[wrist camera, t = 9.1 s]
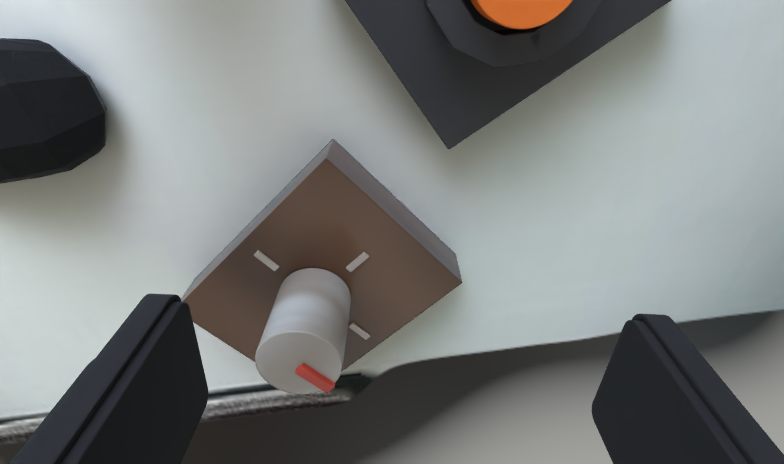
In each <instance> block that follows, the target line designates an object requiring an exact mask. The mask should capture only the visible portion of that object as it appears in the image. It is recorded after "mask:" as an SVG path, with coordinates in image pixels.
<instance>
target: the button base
mask: <svg viewBox="0 0 784 464" xmlns="http://www.w3.org/2000/svg"><path fill="white" fill-rule="evenodd" d="M345 1H346V3H347V4H348V5H349V7H350V8H351V10H352V11H353V13H354V14H355V16H356V17H357V18H358V20H359V21H360V23H361V24H362V26H363V27H364V29H365V30H366V31H367V33H368V34H369V36H370V37H371V39H372V40H373V42H374V43H375V44H376V46H377V47H378V49H379V50H380V52H381V53H382V55H383V56H384V57H385V59H386V60H387V62H388V63H389V65H390V66H391V68H392V69H393V70H394V72H395V73H396V75H397V76H398V78H399V79H400V81H401V82H402V83H403V85H404V86H405V88H406V89H407V91H408V92H409V94H410V95H411V96H412V98H413V99H414V101H415V102H416V104H417V105H418V107H419V108H420V109H421V111H422V112H423V114H424V115H425V117H426V118H427V120H428V121H429V122H430V124H431V125H432V127H433V128H434V130H435V131H436V133H437V134H438V135H439V137H440V138H441V140H442V141H443V143H444V144H445V146H446V147H447V148H448V149H451V148H452V147H454V146H455V145H457V144H458V143H460V142H461V141H463V140H464V139H466V138H467V137H469V136H470V135H471V134H473V133H474V132H476V131H477V130H479V129H480V128H482V127H483V126H485V125H486V124H488V123H489V122H491V121H492V120H494V119H495V118H497V117H498V116H500V115H501V114H503V113H504V112H506V111H507V110H509V109H510V108H512V107H513V106H515V105H516V104H518V103H519V102H521V101H522V100H524V99H525V98H527V97H528V96H530V95H531V94H532V93H534V92H535V91H537V90H538V89H540V88H541V87H543V86H544V85H546V84H547V83H549V82H550V81H552V80H553V79H555V78H556V77H558V76H559V75H561V74H562V73H564V72H565V71H567V70H568V69H570V68H571V67H573V66H574V65H576V64H577V63H579V62H580V61H582V60H583V59H585V58H586V57H588V56H589V55H591V54H592V53H594V52H595V51H596V50H598V49H599V48H601V47H602V46H604V45H605V44H607V43H608V42H610V41H611V40H613V39H614V38H616V37H617V36H619V35H620V34H622V33H623V32H625V31H626V30H628V29H629V28H631V27H632V26H634V25H635V24H637V23H638V22H640V21H641V20H643V19H644V18H646V17H647V16H649V15H650V14H652V13H653V12H655V11H656V10H657V9H659V8H660V7H662V6H663V5H665V4H666V3H668V2H669V1H671V0H573V1H572V2H571V3H570V5H569V6H568V7H567V8H566V9H565V10H564V11H563V12H562V13H561V14H559V15H558V16H557V17H556V18H554V19H553V20H551V21H549V22H548V23H545V24H543V25H541V26H538V27H535V28H530V29H512V28H508V27H504V26H502V25H499V24H496V23H494V22H492V21H490V20H488V19H486V18H485V17H483V16H482V15H481V14H480V13H479V12H478V11H477V10H476V9H475V7H474V6H473V4H472V3H471V1H470V0H345Z"/></svg>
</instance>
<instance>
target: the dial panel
mask: <svg viewBox="0 0 784 464" xmlns="http://www.w3.org/2000/svg"><path fill="white" fill-rule="evenodd" d="M306 268H319V269H324V270H327V271H330V272H332V273H334V274H335V275H337V276H338V277H340V278H341V279H342V280H343V281H344V282H345V284H346V285H347V287H348V289H349V291H350V294H351V306H350V314H349V321H348V329H347V337H346V345H345V352H344V360H343V368H342V371H343V370H344V369H346V368H347V367H348V366H350V365H351V364H352V363H354V362H355V361H357V360H358V359H359V358H361V357H362V356H363V355H365V354H366V353H367V352H369V351H370V350H372V349H373V348H374V347H376V346H377V345H378V344H380V343H381V342H382V341H384V340H385V339H386V338H388V337H389V336H391V335H392V334H393V333H395V332H396V331H397V330H399V329H400V328H401V327H403V326H404V325H406V324H407V323H408V322H410V321H411V320H412V319H414V318H415V317H416V316H418V315H419V314H420V313H422V312H423V311H425V310H426V309H427V308H429V307H430V306H431V305H433V304H434V303H435V302H437V301H438V300H440V299H441V298H442V297H444V296H445V295H446V294H448V293H449V292H450V291H452V290H453V289H454V288H456V287H457V286H459V285H460V284H461V283H462V280H461V275H460V271H459V267H458V263H457V258H456V254H455V253H454V252H453V251H452V250H451V249H450V248H449V247H448V246H447V245H445V244H444V243H443V242H442V241H441V240H440V239H439V238H438V237H437V236H436V235H435V234H434V233H433V232H432V231H431V230H430V229H429V228H427V227H426V226H425V225H424V224H423V223H422V222H421V221H420V220H419V219H418V218H417V217H416V216H415V215H414V214H413V213H412V212H410V211H409V210H408V209H407V208H406V207H405V206H404V205H403V204H402V203H401V202H400V201H399V200H398V199H397V198H396V197H395V196H394V195H392V194H391V193H390V192H389V191H388V190H387V189H386V188H385V187H384V186H383V185H382V184H381V183H380V182H379V181H378V180H377V179H375V178H374V177H373V176H372V175H371V174H370V173H369V172H368V171H367V170H366V169H365V168H364V167H363V166H362V165H361V164H360V163H358V162H357V161H356V160H355V159H354V158H353V157H352V156H351V155H350V154H349V153H348V152H347V151H346V150H345V149H344V148H343V147H342V146H340V145H339V144H338V143H337V142H336V141H335V140H334V139H333V140H332V141H331V142H330V143H329V144H328V145H327V146H326V147H325V148H324V149H323V150H322V151H321V152H320V153H319V154H318V155H317V156H316V157H315V158H314V159H313V160H312V161H311V162H310V163H309V164H308V165H307V166H306V167H305V168H304V169H303V170H302V171H301V172H300V173H299V174H298V175H297V176H296V177H295V178H294V179H293V180H292V181H291V182H290V183H289V184H288V185H287V186H286V187H285V188H284V189H283V190H282V191H281V192H280V193H279V194H278V195H277V196H276V197H275V198H274V199H273V200H272V201H271V202H270V203H269V204H268V205H267V206H266V207H265V208H264V209H263V210H262V211H261V212H260V213H259V214H258V215H257V216H256V217H255V218H254V219H253V220H252V221H251V222H250V223H249V224H248V225H247V226H246V227H245V228H244V230H243V231H242V232H241V233H240V234H239V235H238V236H237V237H236V238H235V239H234V240H233V241H232V242H231V243H230V244H229V245H228V246H227V247H226V248H225V249H224V250H223V251H222V252H221V253H220V254H219V255H218V256H217V257H216V258H215V259H214V260H213V261H212V262H211V263H210V264H209V265H208V266H207V267H206V268H205V269H204V270H203V271H202V272H201V273H200V274H199V275H198V276H197V277H196V278H195V279H194V280H193V282H192V283H191V285H190V286H189V288H188V289H187V291H186V292H185V294H184V295H183V297H182V298H181V301H182V302H186V303H188V305H189V307H190V312H191V316H192V321H193V322H194V323H196V324H197V325H199V326H200V327H202V328H203V329H205V330H206V331H208V332H209V333H211V334H212V335H214V336H216V337H217V338H219V339H220V340H222V341H223V342H225V343H226V344H228V345H229V346H231V347H233V348H234V349H236V350H237V351H239V352H240V353H242V354H243V355H245V356H246V357H248V358H250V359H251V360H253V361H254V362H255V355H256V351H257V348H258V346H259V343H260V340H261V337H262V335H263V332H264V329H265V327H266V324H267V321H268V319H269V316H270V313H271V310H272V308H273V305H274V302H275V300H276V297H277V294H278V291H279V289H280V286H281V284H282V282H283V281H284V280H285V278H286V277H288V276H289V275H290V274H292V273H293V272H295V271H298V270H301V269H306ZM305 395H307V396H309V395H310V394H305Z"/></svg>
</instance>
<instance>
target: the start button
mask: <svg viewBox="0 0 784 464" xmlns="http://www.w3.org/2000/svg"><path fill="white" fill-rule="evenodd" d="M470 1H471V3H472V4H473V6H474V7H475V9H476V10H477V11H478V12H479V13H480V14H481V15H482V16H483V17H485V18H486V19H488V20H490V21H492V22H494V23H496V24H499V25H502V26H504V27H508V28H512V29H530V28H535V27H538V26H541V25H543V24H545V23H548V22H549V21H551V20H553V19H554V18H556V17H557V16H558V15H559V14H561V13H562V12H563V11H564V10H565V9H566V8H567V7H568V6H569V5H570V3H571V2H572V1H573V0H470Z"/></svg>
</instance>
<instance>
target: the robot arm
mask: <svg viewBox="0 0 784 464" xmlns="http://www.w3.org/2000/svg"><path fill="white" fill-rule="evenodd" d="M207 400H208V387H207V382H206V378H205V374H204V369H203V365H202V360H201V356H200V351H199V347H198V343H197V338H196V334H195V329H194V325H193V321H192V316H191V312H190V307H189V305H188V303H186V302H182V301H181V298H180V297H179V296H178V295H168V294H148V295H146V296H145V297H144V298H143V299H142V300H141V301H140V303H139V304H138V305H137V306H136V308H135V309H134V310H133V311H132V313H131V314H130V315H129V316H128V318H127V319H126V320H125V322H124V323H123V324H122V325H121V327H120V328H119V329H118V330H117V332H116V333H115V334H114V336H113V337H112V338H111V339H110V341H109V342H108V343H107V344H106V346H105V347H104V348H103V349H102V351H101V352H100V353H99V355H98V356H97V357H96V358H95V359H94V360H93V361H91V362H90V363H89V364H88V365H87V366H86V368H85V369H84V370H83V372H82V373H81V374H80V375H79V377H78V378H77V379H76V380H75V382H74V383H73V384H72V385H71V387H70V388H69V389H68V390H67V392H66V393H65V394H64V395H63V397H62V398H61V399H60V400H59V402H58V403H57V404H56V405H55V407H54V408H53V409H52V410H51V412H50V413H49V414H48V416H47V417H46V418H45V419H44V421H43V422H42V423H41V424H40V426H39V427H38V428H37V429H36V431H35V432H34V433H33V434H32V436H31V437H30V438H29V439H28V441H27V442H26V443H25V444H24V446H23V447H22V448H21V450H20V451H19V452H18V453H17V455H16V456H15V457H14V458H13V460H12V461H11V462H10V463H9V464H181V462H182V459H183V457H184V455H185V453H186V450H187V448H188V446H189V444H190V441H191V439H192V437H193V434H194V432H195V430H196V428H197V425H198V423H199V421H200V419H201V416H202V414H203V412H204V409H205V407H206V404H207ZM592 415H593V419H594V422H595V424H596V426H597V429H598V431H599V433H600V435H601V437H602V440H603V442H604V444H605V446H606V448H607V451H608V453H609V455H610V457H611V459H612V461H613V464H784V455H783V453H782V452H781V451H780V450H779V449H778V448H777V446H776V445H775V444H774V442H773V441H772V440H771V439H770V438H769V436H768V435H767V434H766V433H765V432H764V430H763V429H762V428H761V427H760V426H759V424H758V423H757V422H756V421H755V419H754V418H753V417H752V416H751V415H750V413H749V412H748V411H747V410H746V408H745V407H744V406H743V405H742V404H741V402H740V401H739V400H738V399H737V398H736V396H735V395H734V394H733V393H732V391H731V390H730V389H729V388H728V387H727V385H726V384H725V383H724V382H723V381H722V379H721V378H720V377H719V376H718V374H717V373H716V372H715V371H714V370H713V368H712V367H711V366H710V365H709V364H708V362H707V361H706V360H705V359H704V357H702V355H701V354H700V353H699V352H698V350H697V349H696V348H695V347H694V345H693V344H692V343H691V342H690V340H689V339H688V338H687V337H686V336H685V335H684V333H683V332H682V331H681V330H680V328H679V327H678V326H677V325H676V323H675V322H674V321H673V320H672V319H671V318H670V317H669V316H666V315H656V314H637V315H635V316H634V317H633V319H632V320H629V321H627V322H626V323H625V325H624V327H623V329H622V332H621V334H620V337H619V339H618V342H617V344H616V347H615V349H614V352H613V354H612V357H611V359H610V362H609V364H608V367H607V369H606V371H605V374H604V376H603V379H602V381H601V384H600V386H599V389H598V391H597V394H596V396H595V399H594V401H593V404H592Z"/></svg>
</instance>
